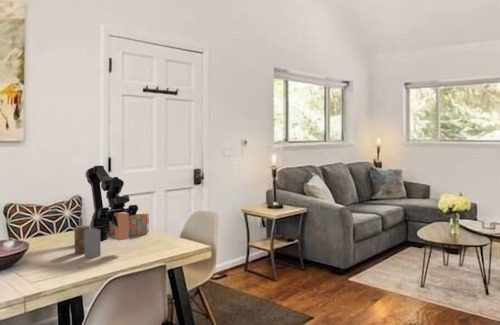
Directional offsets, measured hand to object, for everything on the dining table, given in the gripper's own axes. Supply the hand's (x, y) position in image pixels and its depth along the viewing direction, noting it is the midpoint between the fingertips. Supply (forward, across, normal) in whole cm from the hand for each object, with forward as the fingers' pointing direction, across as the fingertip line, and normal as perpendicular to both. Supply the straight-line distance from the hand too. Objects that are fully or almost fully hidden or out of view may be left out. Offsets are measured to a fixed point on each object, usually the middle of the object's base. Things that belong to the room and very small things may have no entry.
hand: (122, 225), depth 208 cm
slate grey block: (+7, -13, +12) cm, 19 cm away
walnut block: (0, -15, +19) cm, 24 cm away
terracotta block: (+4, 0, +6) cm, 7 cm away
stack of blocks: (-18, +19, +38) cm, 47 cm away
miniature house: (-30, +10, +50) cm, 59 cm away
